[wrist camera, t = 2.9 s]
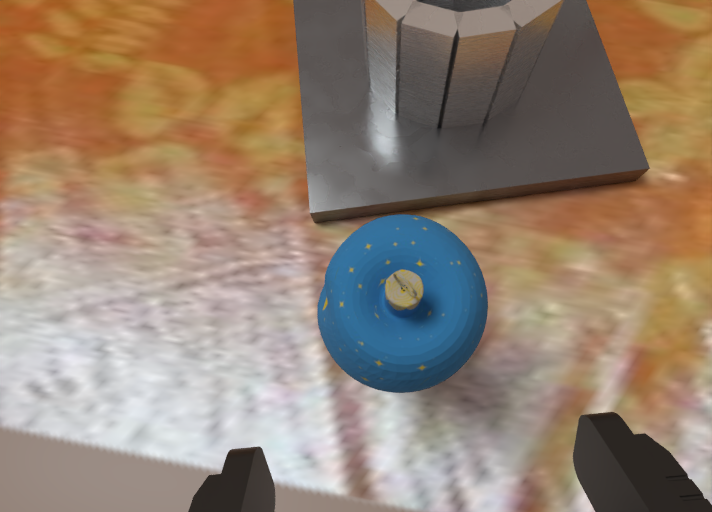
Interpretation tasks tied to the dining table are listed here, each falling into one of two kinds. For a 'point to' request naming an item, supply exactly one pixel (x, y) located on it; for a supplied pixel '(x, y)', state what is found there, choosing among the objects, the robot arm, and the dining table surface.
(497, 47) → the tube on square plate
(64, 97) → the dining table surface
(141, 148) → the dining table surface
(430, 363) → the ornament
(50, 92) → the dining table surface
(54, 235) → the dining table surface
